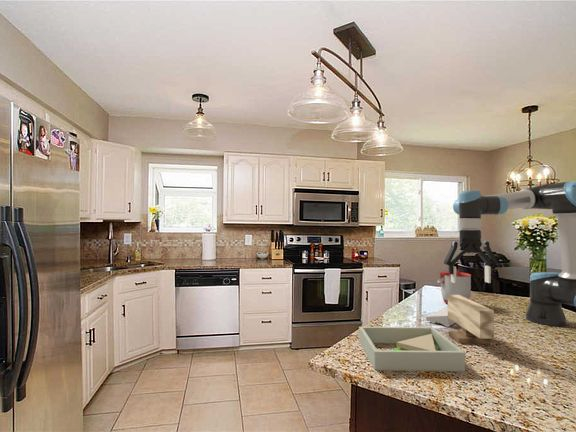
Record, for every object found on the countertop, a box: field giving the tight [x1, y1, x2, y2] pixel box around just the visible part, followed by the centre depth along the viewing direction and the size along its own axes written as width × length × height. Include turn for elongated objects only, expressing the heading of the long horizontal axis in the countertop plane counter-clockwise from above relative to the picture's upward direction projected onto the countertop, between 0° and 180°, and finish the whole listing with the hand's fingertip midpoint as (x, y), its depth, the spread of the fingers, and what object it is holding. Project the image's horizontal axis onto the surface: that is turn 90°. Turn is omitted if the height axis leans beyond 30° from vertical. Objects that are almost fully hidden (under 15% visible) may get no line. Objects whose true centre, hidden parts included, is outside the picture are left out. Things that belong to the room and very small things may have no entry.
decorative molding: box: [425, 305, 456, 328], centre depth 156 cm, size 34×5×10 cm
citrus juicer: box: [437, 268, 472, 305], centre depth 181 cm, size 16×17×20 cm
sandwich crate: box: [358, 326, 466, 372], centre depth 112 cm, size 28×23×6 cm
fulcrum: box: [448, 326, 491, 345], centre depth 127 cm, size 12×8×5 cm, turn 89°
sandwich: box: [392, 334, 438, 351], centre depth 113 cm, size 15×20×5 cm
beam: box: [447, 295, 495, 340], centre depth 127 cm, size 5×24×10 cm, turn 179°
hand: (470, 282), depth 127 cm, fingers open, 13 cm apart
